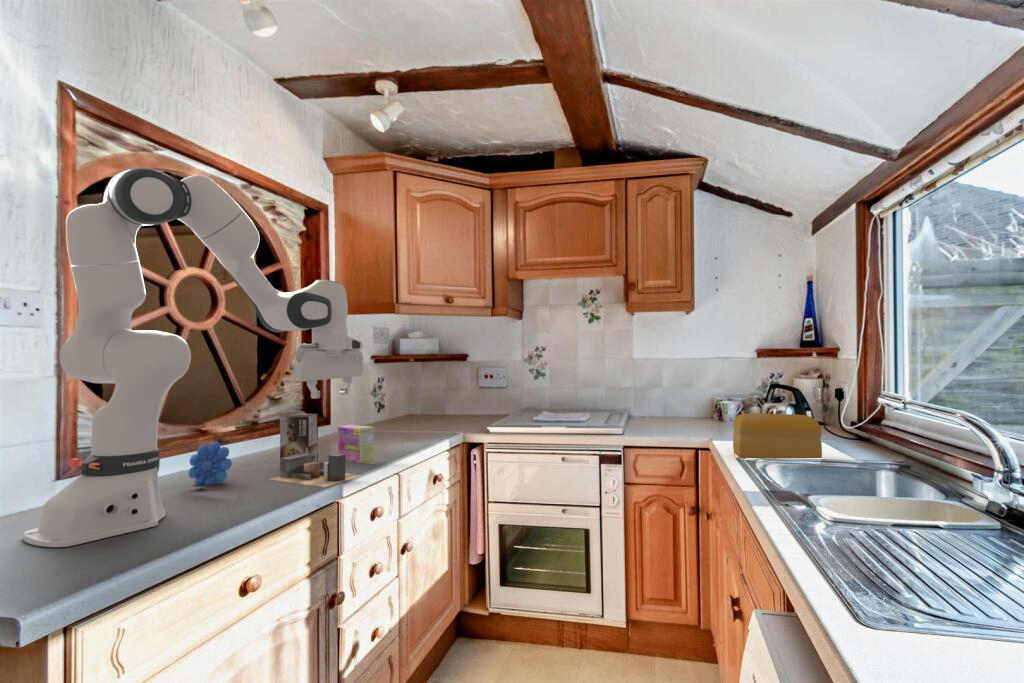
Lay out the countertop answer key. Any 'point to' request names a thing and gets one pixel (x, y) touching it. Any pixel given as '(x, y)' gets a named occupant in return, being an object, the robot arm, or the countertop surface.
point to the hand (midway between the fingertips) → (330, 396)
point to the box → (356, 443)
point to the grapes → (210, 464)
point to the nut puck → (312, 469)
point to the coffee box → (299, 435)
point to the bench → (315, 480)
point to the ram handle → (335, 467)
